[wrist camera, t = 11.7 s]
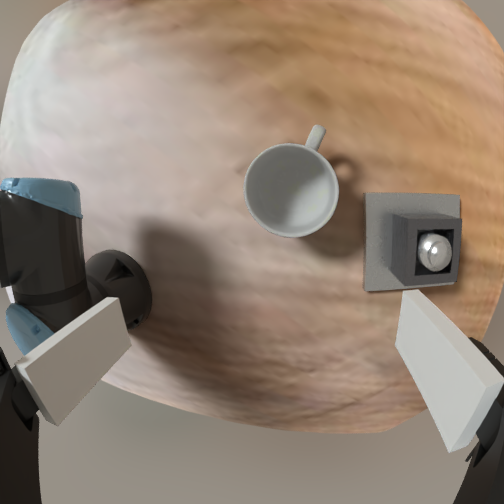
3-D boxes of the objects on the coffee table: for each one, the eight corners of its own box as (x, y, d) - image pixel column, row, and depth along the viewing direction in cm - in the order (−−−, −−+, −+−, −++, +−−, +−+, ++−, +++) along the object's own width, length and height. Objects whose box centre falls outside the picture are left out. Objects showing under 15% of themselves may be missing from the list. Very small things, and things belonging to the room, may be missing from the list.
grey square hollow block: (390, 271, 36) (404, 286, 30) (392, 213, 34) (408, 218, 28) (438, 268, 34) (456, 281, 29) (441, 213, 32) (461, 218, 27)
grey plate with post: (362, 287, 39) (378, 315, 30) (362, 192, 36) (382, 195, 26) (449, 281, 36) (478, 303, 27) (454, 194, 33) (489, 198, 24)
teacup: (300, 242, 39) (301, 256, 31) (239, 197, 39) (224, 200, 31) (358, 165, 35) (373, 159, 27) (295, 119, 35) (294, 102, 27)
